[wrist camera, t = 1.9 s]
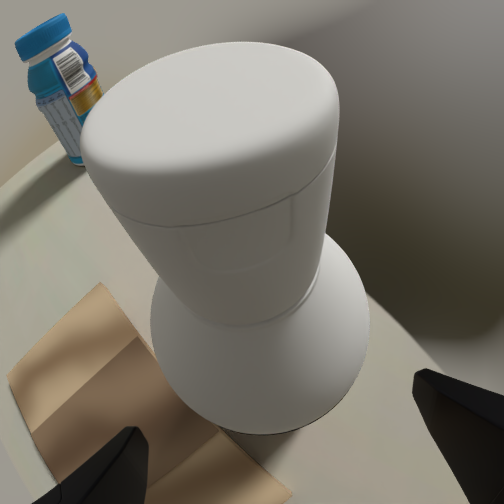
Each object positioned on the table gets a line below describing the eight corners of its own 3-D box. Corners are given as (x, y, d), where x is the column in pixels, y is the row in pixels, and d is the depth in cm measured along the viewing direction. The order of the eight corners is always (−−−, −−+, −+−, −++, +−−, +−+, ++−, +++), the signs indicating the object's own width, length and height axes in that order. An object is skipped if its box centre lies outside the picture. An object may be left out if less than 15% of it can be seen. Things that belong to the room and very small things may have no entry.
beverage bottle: (69, 177, 34) (-3, 55, 17) (73, 144, 39) (18, 37, 22) (125, 151, 35) (64, 13, 18) (122, 121, 39) (76, 5, 23)
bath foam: (238, 438, 18) (-72, 462, 1) (214, 346, 21) (31, 83, 5) (338, 409, 18) (618, 261, 1) (307, 319, 22) (338, 1, 5)
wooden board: (291, 492, 15) (292, 496, 14) (154, 579, 11) (147, 586, 10) (106, 288, 25) (98, 280, 24) (14, 378, 21) (4, 375, 19)
